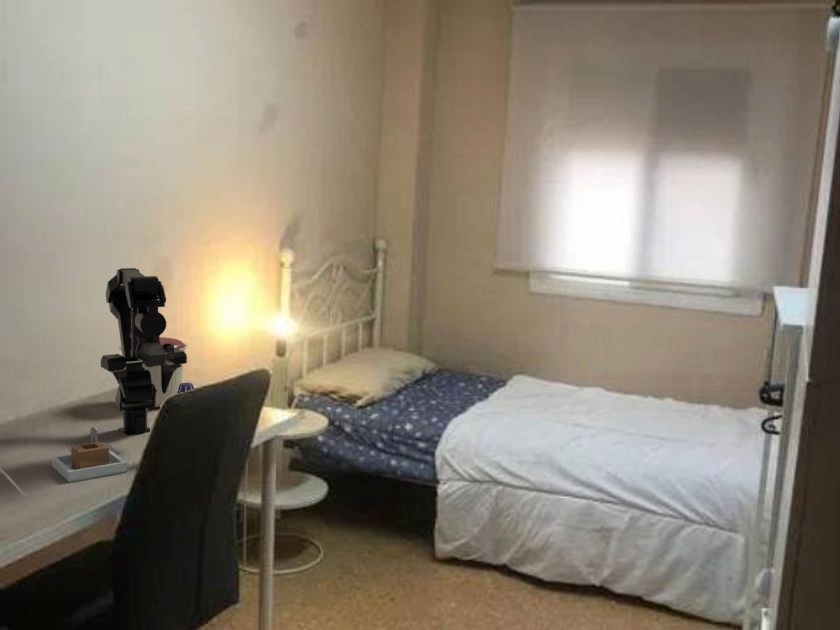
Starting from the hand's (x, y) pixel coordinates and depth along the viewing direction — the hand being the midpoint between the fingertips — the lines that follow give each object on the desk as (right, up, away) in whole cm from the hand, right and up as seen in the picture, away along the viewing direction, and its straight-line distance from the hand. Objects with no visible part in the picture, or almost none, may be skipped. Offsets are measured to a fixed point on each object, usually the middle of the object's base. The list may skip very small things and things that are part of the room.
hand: (145, 395), depth 208 cm
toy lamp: (+11, -13, -4) cm, 18 cm away
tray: (-6, -15, -18) cm, 24 cm away
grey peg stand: (-10, -13, -6) cm, 17 cm away
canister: (-10, -6, +40) cm, 42 cm away
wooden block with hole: (-7, -14, -18) cm, 23 cm away
